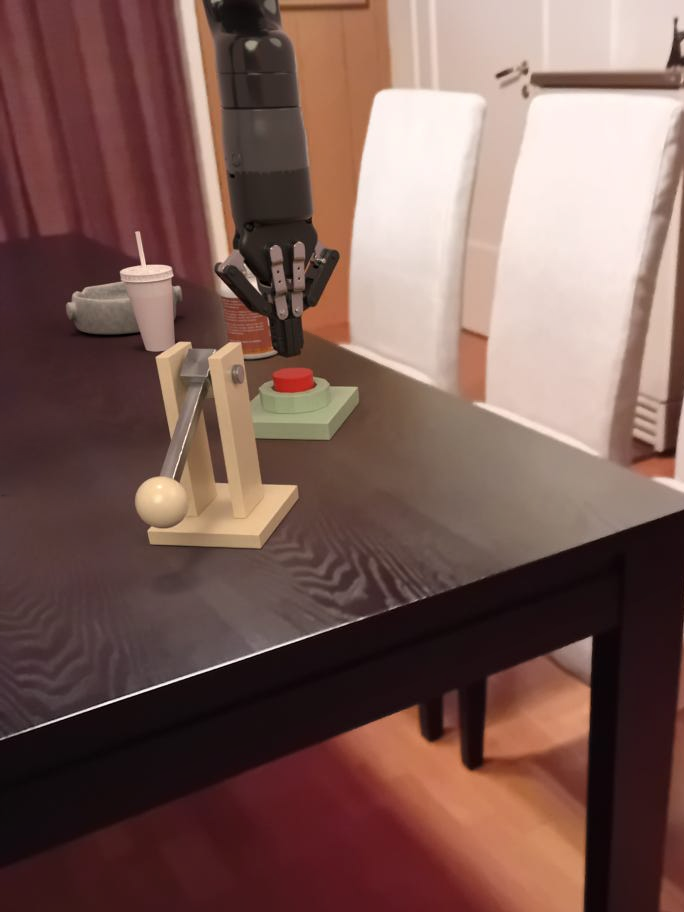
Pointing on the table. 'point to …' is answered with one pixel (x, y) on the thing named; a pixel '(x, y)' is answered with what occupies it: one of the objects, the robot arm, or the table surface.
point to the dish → (108, 309)
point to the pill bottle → (246, 324)
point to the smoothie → (151, 301)
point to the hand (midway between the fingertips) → (288, 355)
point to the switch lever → (177, 448)
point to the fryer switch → (244, 496)
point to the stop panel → (302, 411)
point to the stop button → (293, 380)
